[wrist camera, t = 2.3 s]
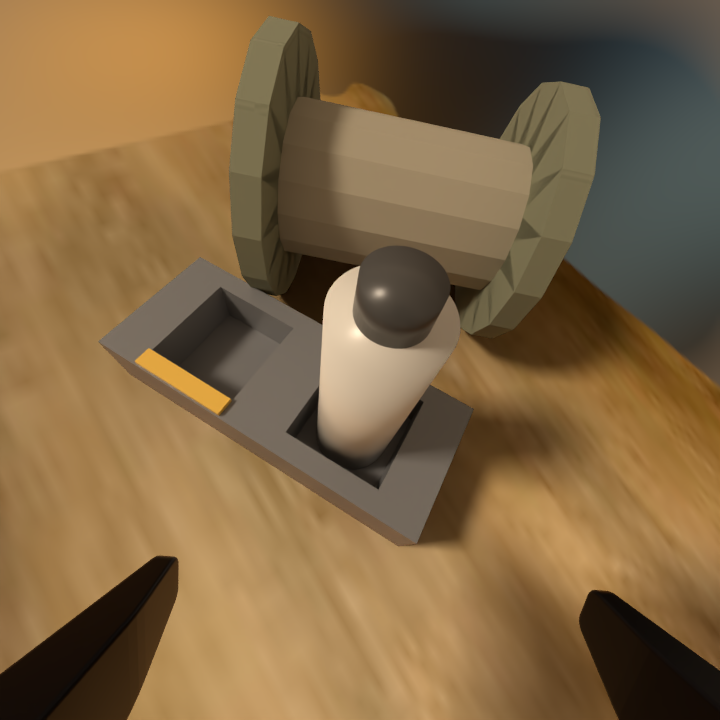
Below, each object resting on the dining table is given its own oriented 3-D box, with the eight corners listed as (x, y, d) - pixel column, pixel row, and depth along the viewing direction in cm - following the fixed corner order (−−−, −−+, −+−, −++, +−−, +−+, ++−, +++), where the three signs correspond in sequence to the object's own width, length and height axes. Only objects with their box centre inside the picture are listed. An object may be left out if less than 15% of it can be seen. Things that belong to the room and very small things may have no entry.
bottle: (398, 422, 23) (501, 266, 10) (365, 483, 21) (446, 377, 8) (340, 388, 23) (373, 205, 11) (302, 444, 21) (292, 293, 9)
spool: (470, 238, 34) (571, 40, 21) (473, 374, 26) (631, 197, 13) (302, 203, 33) (297, -22, 20) (255, 332, 26) (200, 105, 13)
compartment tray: (449, 430, 24) (475, 407, 20) (398, 546, 20) (418, 543, 16) (214, 295, 27) (198, 253, 23) (129, 374, 23) (95, 338, 19)
